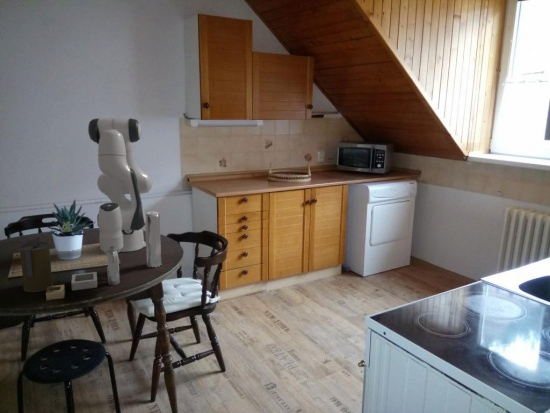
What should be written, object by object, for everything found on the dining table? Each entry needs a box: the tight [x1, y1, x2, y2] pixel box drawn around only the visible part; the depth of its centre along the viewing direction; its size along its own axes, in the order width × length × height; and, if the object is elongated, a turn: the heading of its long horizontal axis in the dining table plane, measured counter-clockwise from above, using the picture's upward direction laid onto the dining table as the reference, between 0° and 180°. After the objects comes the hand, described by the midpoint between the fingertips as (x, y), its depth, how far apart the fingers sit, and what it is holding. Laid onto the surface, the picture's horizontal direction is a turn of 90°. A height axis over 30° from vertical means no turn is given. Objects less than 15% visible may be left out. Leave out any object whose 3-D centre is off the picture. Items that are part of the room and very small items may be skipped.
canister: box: [18, 236, 54, 293], centre depth 166 cm, size 11×10×20 cm
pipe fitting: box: [106, 266, 121, 286], centre depth 174 cm, size 5×5×7 cm
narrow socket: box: [45, 284, 66, 301], centre depth 161 cm, size 6×6×3 cm
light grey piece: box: [144, 210, 162, 268], centre depth 192 cm, size 6×6×25 cm
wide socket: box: [71, 271, 98, 291], centre depth 172 cm, size 9×9×3 cm
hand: (113, 275), depth 174 cm, fingers open, 8 cm apart
